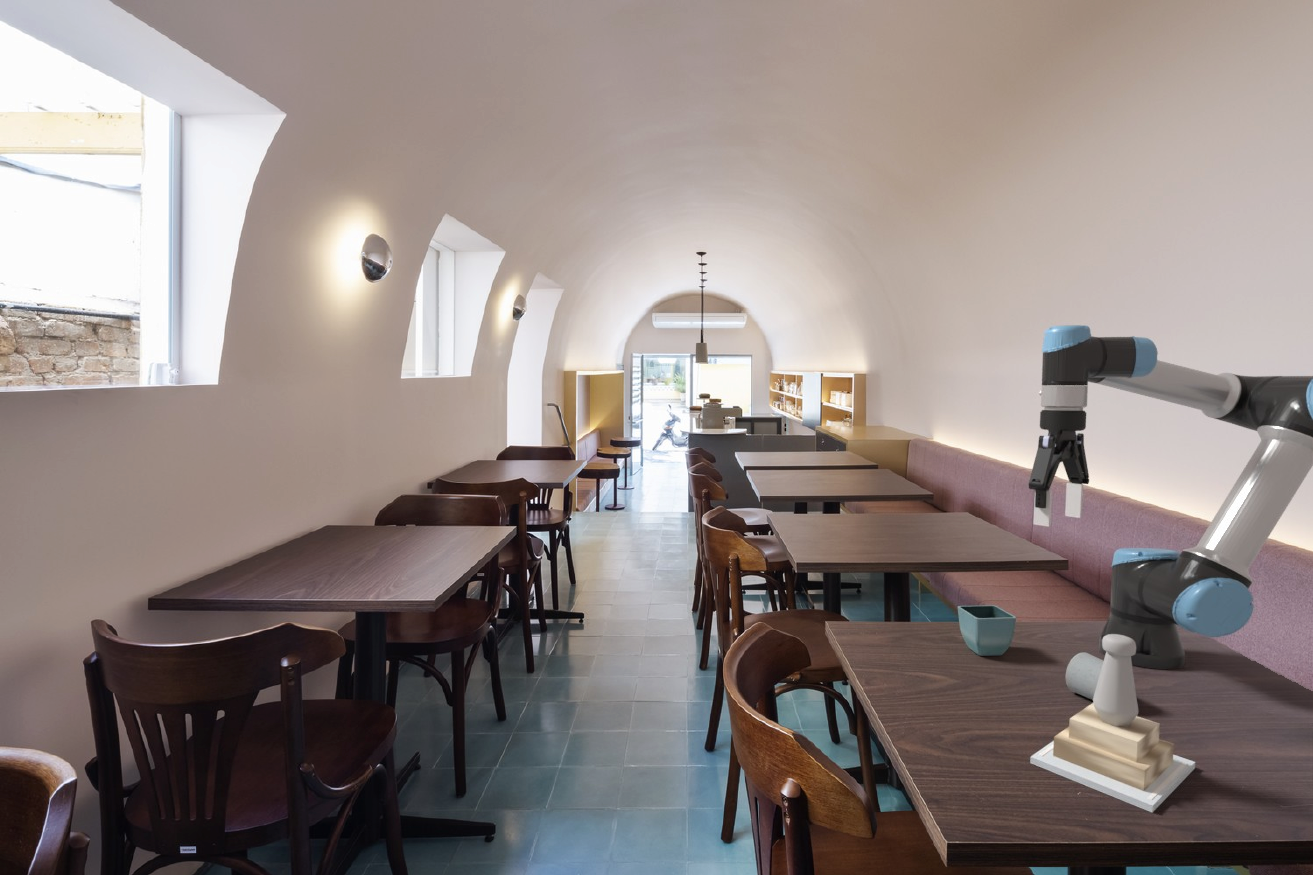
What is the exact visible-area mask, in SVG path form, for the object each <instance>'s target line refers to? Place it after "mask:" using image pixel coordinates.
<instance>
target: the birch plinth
mask: <svg viewBox="0 0 1313 875" xmlns="http://www.w3.org/2000/svg"><path fill="white" fill-rule="evenodd" d="M1068 722H1069V723H1068V724H1069V725H1068V727H1066V728H1065V729H1064V730H1062V731H1060V732H1059V733H1058V734H1056V735H1054V736H1053V741H1054V746H1053V756H1055V757H1057V758H1060V759H1063V760H1065V761H1068V762H1070V763H1073V764H1075V765H1078V766H1080V767H1083V768H1086V769H1088V770H1091V771H1093V772H1096V773H1098V774H1101V775H1104V776H1106V777H1109V778H1111V779H1114V780H1116V781H1119V782H1121V783H1124V784H1127V785H1129V786H1132V787H1134V788H1137V789H1139V790H1142V791H1144V790H1145V789H1146V788H1147V787H1148V786H1149V785H1151V784H1152V783H1153V782H1154V781H1155V780H1156V779H1157V778H1158V777H1159V776H1160V775H1161V774H1162V773H1163V772H1164V771H1165V770H1166V769H1167V768H1168V767H1169V766H1170V765H1171V764H1172V763H1173V755H1174V750H1175V749H1174V748H1175V743H1173V742H1170V741H1167V740H1164V739H1161V738H1160V727H1161V724H1160V723H1159V722H1156V721H1152V720H1151V719H1147V718H1144V717H1140V716H1138V715H1137V716H1136V717H1135V719H1134V720H1133V721H1132V722H1131V724H1130V725H1129V727H1115V726H1113V725H1110V724H1107V723H1104V722H1102V720H1101V719H1100V717H1099V716H1098V713H1097V711H1096V709H1095V707H1094V703H1093V702H1092V703H1090V704H1089V705H1087V706H1086V707H1085V708H1083V709H1082V710H1080V711H1079V712H1077V713H1075V714H1074V715H1073V716H1071V717H1069V721H1068Z"/></svg>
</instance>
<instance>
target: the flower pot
mask: <svg viewBox="0 0 1313 875" xmlns="http://www.w3.org/2000/svg"><path fill="white" fill-rule="evenodd" d="M957 613H958V621H959V622H958V625H959V629H960V633H961V636H962V638H963V641H964V642H965V644H966V646H967V647H968V648H969V649H970V650H972V652H974V653H975V654H977V655H978V656H980V657H983V656H986V657H987V656H990V657H992V656H1003V655H1004V654H1005V653H1006V651H1008V648H1010V645H1011V643H1012V641H1013V639H1014V633H1015V628H1016V622H1017V617H1016V616H1015V615H1014V614H1012V613H1010V612H1008V611H1006V610H1004V609H1003V608H1001V607H1000V606H998V605H994V604H993V605H992V604H991V605H984V604H983V605H958V606H957Z"/></svg>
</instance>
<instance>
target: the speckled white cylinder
mask: <svg viewBox="0 0 1313 875" xmlns="http://www.w3.org/2000/svg"><path fill="white" fill-rule="evenodd" d="M1103 662H1104V659H1101V658H1099V657H1097V656H1094V655H1092V654H1090V653H1088V652H1079V653H1077V654H1076V655H1074V656H1073V657H1072V658H1071V659H1070V661H1069V662H1068V664H1067V667H1066V670H1065V682H1066V683H1065V684H1066V685H1067V688H1068V689H1069V690H1070V692H1073V693H1075V694H1078V695H1081V696H1083V697H1085V698H1087V699H1090V700H1092V701H1093V697H1094V693H1095V690H1096V686H1097V683H1098V679H1099V676H1100V672H1101V669H1102V665H1103Z"/></svg>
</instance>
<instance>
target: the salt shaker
mask: <svg viewBox="0 0 1313 875" xmlns="http://www.w3.org/2000/svg"><path fill="white" fill-rule="evenodd" d="M1102 647H1103V650H1105V651H1106V654H1104V659H1103V661H1104V662H1103V665H1102V669H1101V672H1100V676H1099V679H1098V683H1097V686H1096V690H1095V693H1094V697H1093V700H1092V701H1093V702H1092V703H1094V707H1095V709H1096V711H1097V713H1098V716H1099V717H1100V719H1101V720H1102V722H1104V723H1107V724H1110V725H1113V726H1115V727H1129V725H1130V724H1131V722H1132V721H1133V720H1134V719H1135V717H1136V716H1138V715H1139V705H1138V701H1137V700H1138V699H1137V692H1136V684H1135V676H1134V670H1133V665H1132V661H1131V656H1133V655H1135V653H1136V644H1135V641H1134V640H1133V639H1131V638H1130V637H1127V636H1124V635H1119V634H1108V635H1106V636H1104V637H1103V640H1102Z"/></svg>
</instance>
